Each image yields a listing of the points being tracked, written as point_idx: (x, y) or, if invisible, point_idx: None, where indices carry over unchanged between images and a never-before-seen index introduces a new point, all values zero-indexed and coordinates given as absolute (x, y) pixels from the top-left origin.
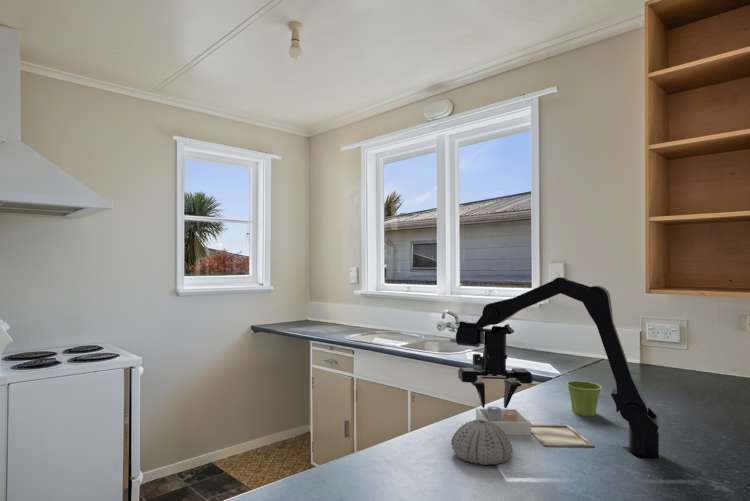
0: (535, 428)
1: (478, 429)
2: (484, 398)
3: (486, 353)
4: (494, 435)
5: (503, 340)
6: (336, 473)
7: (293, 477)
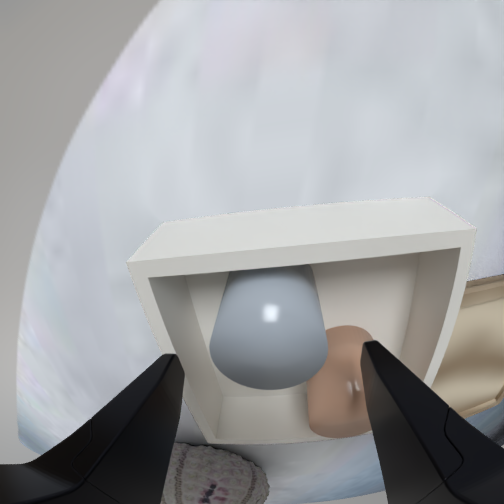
0: (460, 319)
1: None
2: (167, 458)
3: None
4: None
5: None
6: (39, 442)
7: (19, 435)
